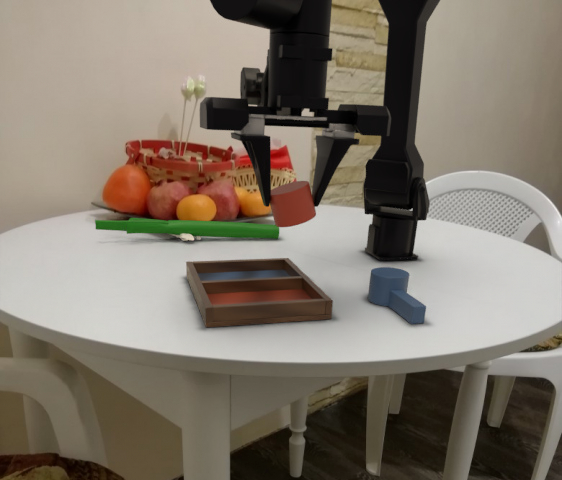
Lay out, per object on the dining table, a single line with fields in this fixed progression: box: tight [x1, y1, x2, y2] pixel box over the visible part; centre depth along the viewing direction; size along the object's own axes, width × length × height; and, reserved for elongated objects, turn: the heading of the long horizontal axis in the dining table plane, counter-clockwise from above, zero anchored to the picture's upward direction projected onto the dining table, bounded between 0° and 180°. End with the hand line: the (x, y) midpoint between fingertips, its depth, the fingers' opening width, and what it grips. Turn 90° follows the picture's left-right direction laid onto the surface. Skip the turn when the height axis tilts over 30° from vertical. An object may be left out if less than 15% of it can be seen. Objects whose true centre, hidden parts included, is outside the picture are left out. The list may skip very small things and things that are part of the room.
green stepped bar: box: [94, 217, 280, 242], centre depth 90 cm, size 5×3×30 cm
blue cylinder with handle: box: [367, 266, 427, 325], centre depth 64 cm, size 10×5×4 cm, turn 15°
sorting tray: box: [185, 257, 334, 328], centre depth 66 cm, size 14×18×2 cm
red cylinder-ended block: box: [269, 180, 317, 228], centre depth 61 cm, size 10×5×4 cm, turn 13°
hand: (291, 206), depth 59 cm, fingers closed on red cylinder-ended block, 5 cm apart
